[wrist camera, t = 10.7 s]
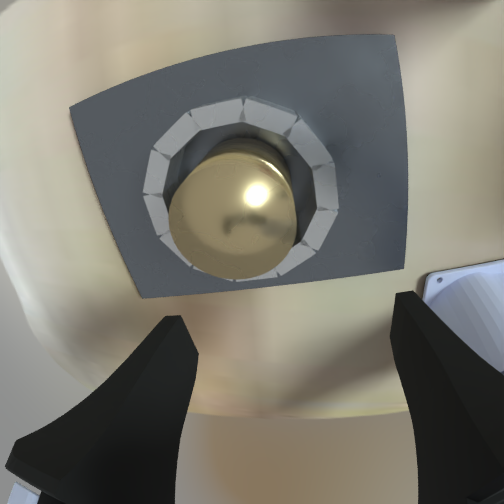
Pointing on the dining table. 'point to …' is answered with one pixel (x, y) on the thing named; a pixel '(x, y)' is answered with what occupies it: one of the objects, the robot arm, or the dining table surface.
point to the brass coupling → (235, 211)
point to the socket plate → (272, 133)
